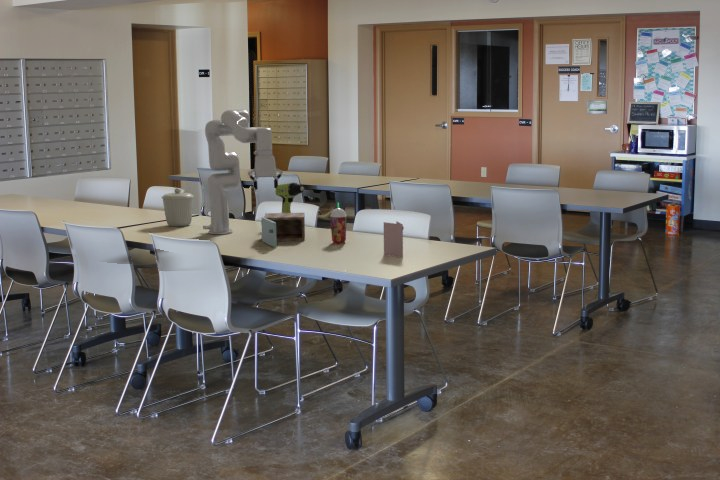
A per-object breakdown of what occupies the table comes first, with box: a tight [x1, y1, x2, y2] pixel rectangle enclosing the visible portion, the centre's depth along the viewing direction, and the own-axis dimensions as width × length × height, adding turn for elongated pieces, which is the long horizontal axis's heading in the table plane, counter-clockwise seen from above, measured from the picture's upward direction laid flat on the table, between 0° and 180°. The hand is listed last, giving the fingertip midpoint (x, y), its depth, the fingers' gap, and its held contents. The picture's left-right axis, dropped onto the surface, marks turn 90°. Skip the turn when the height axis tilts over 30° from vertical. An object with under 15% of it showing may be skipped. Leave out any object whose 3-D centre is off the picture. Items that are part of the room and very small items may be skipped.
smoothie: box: [329, 202, 348, 245], centre depth 464 cm, size 8×8×20 cm
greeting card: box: [383, 221, 405, 258], centre depth 429 cm, size 11×7×15 cm, turn 12°
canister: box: [161, 187, 195, 228], centre depth 529 cm, size 18×18×21 cm
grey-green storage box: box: [260, 216, 278, 248], centre depth 463 cm, size 21×3×12 cm, turn 23°
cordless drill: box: [274, 182, 305, 213], centre depth 512 cm, size 23×7×25 cm, turn 40°
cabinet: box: [264, 212, 306, 242], centre depth 481 cm, size 20×16×12 cm
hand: (265, 188), depth 461 cm, fingers open, 9 cm apart
